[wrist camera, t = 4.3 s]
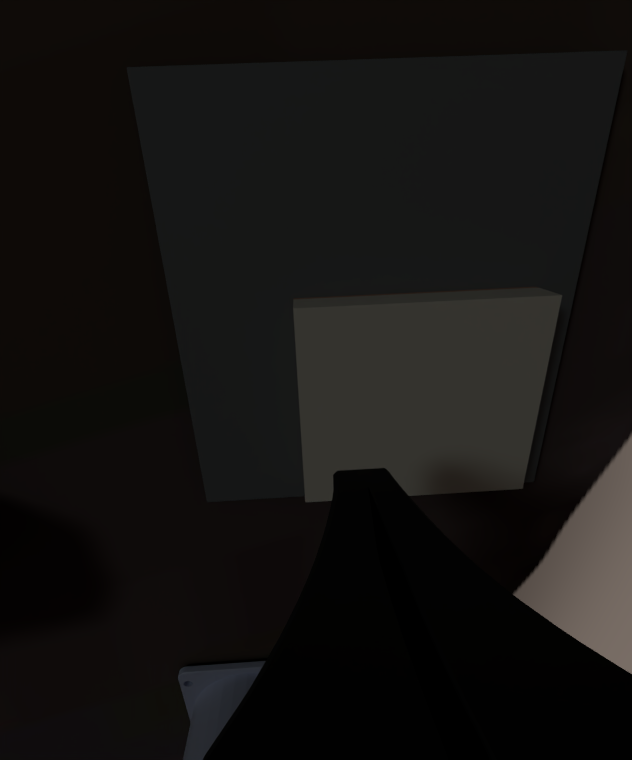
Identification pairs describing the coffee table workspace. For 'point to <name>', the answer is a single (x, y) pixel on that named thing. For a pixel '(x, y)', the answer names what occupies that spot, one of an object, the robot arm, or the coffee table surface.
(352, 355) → the tile
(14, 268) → the coffee table surface
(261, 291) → the mat
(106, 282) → the coffee table surface
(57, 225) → the coffee table surface
